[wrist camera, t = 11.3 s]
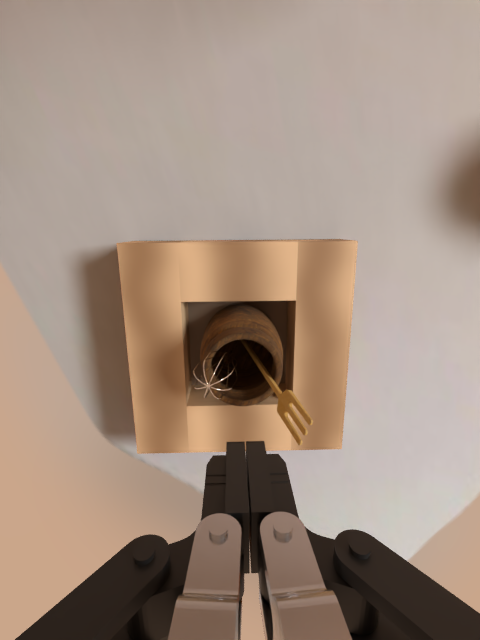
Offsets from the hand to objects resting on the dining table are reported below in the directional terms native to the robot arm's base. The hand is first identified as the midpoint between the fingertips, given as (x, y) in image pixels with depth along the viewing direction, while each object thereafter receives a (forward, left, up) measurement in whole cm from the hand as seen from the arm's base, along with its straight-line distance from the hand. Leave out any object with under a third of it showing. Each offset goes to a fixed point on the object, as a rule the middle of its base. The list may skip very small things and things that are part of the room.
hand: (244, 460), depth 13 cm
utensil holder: (0, 0, -15) cm, 15 cm away
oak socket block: (0, 0, -16) cm, 16 cm away
